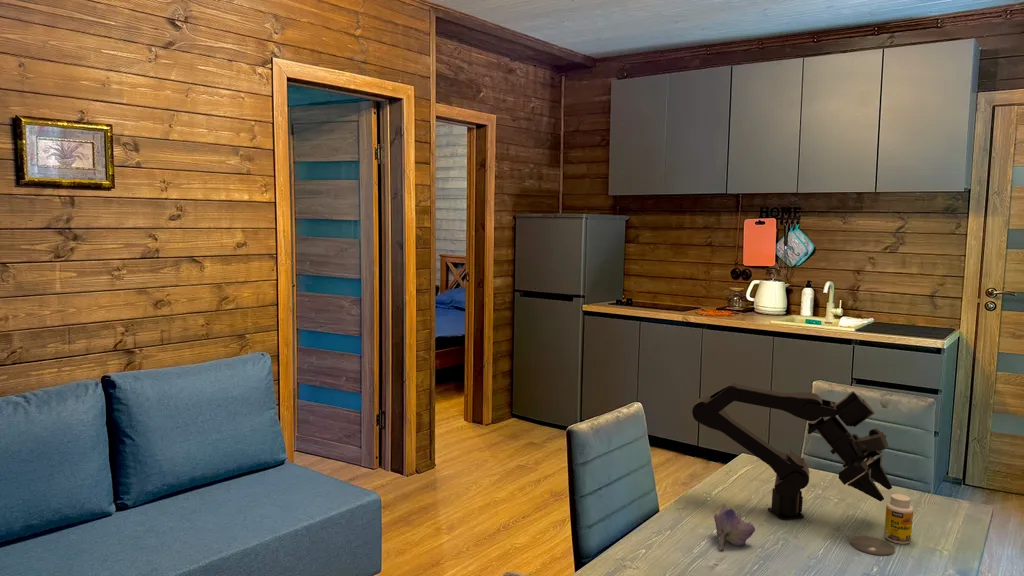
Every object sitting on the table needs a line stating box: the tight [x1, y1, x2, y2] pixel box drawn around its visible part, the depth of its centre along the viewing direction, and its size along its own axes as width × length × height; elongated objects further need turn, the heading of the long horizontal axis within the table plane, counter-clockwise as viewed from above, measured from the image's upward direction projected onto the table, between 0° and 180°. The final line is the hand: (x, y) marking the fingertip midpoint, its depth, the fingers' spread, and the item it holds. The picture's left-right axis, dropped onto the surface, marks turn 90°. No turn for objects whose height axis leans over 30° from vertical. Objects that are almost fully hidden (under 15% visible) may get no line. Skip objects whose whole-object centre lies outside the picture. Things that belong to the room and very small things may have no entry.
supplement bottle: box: [883, 493, 914, 545], centre depth 169 cm, size 6×6×10 cm
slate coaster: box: [849, 535, 896, 557], centre depth 165 cm, size 9×9×1 cm
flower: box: [713, 503, 756, 552], centre depth 164 cm, size 9×9×10 cm
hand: (886, 494), depth 170 cm, fingers open, 9 cm apart
